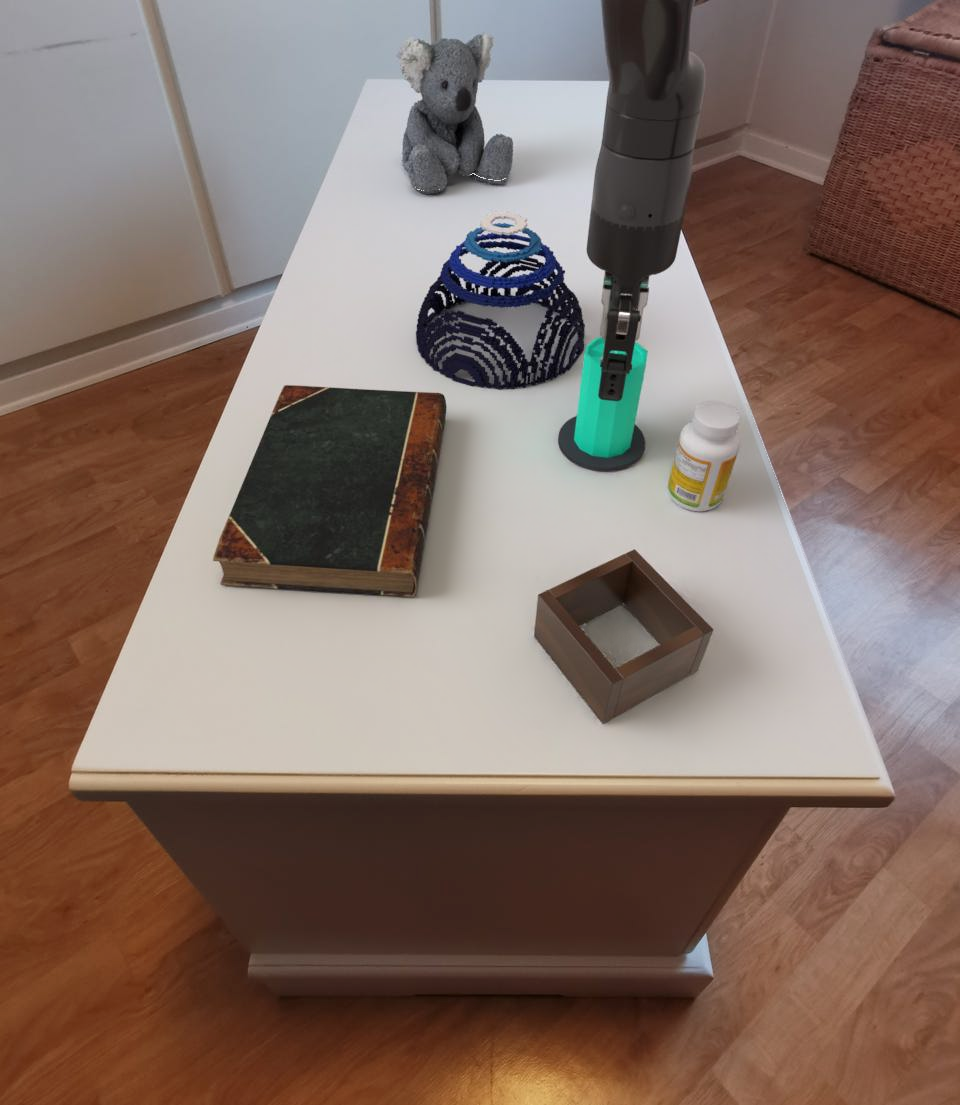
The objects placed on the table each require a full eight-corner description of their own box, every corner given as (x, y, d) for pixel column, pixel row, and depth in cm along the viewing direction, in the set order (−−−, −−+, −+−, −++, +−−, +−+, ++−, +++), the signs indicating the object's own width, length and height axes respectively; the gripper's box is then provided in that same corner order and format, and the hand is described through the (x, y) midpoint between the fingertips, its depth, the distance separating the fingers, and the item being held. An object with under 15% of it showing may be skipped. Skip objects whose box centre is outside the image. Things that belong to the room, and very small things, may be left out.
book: (289, 410, 84) (219, 586, 67) (282, 383, 82) (209, 558, 65) (447, 419, 83) (417, 598, 67) (447, 391, 81) (415, 571, 64)
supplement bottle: (714, 474, 78) (738, 394, 70) (729, 511, 74) (756, 431, 67) (661, 476, 77) (680, 396, 70) (673, 514, 74) (695, 434, 67)
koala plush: (415, 201, 120) (407, 56, 105) (381, 158, 131) (370, 22, 116) (518, 184, 124) (524, 43, 110) (476, 144, 135) (477, 11, 121)
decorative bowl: (385, 360, 91) (374, 241, 80) (463, 283, 103) (461, 171, 92) (542, 407, 85) (552, 285, 74) (605, 319, 97) (621, 204, 86)
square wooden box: (625, 591, 67) (634, 548, 63) (698, 670, 62) (714, 629, 58) (533, 636, 64) (537, 594, 60) (602, 724, 58) (612, 684, 54)
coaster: (609, 407, 85) (610, 402, 84) (662, 453, 80) (663, 448, 79) (541, 433, 82) (541, 428, 81) (591, 483, 77) (592, 478, 76)
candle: (598, 465, 77) (614, 363, 69) (561, 433, 81) (572, 332, 72) (643, 444, 80) (664, 342, 71) (606, 414, 83) (622, 313, 74)
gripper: (687, 247, 57) (649, 424, 69) (684, 169, 67) (652, 337, 79) (585, 239, 58) (566, 416, 70) (597, 163, 67) (578, 331, 80)
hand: (611, 374), depth 74 cm, fingers open, 7 cm apart
